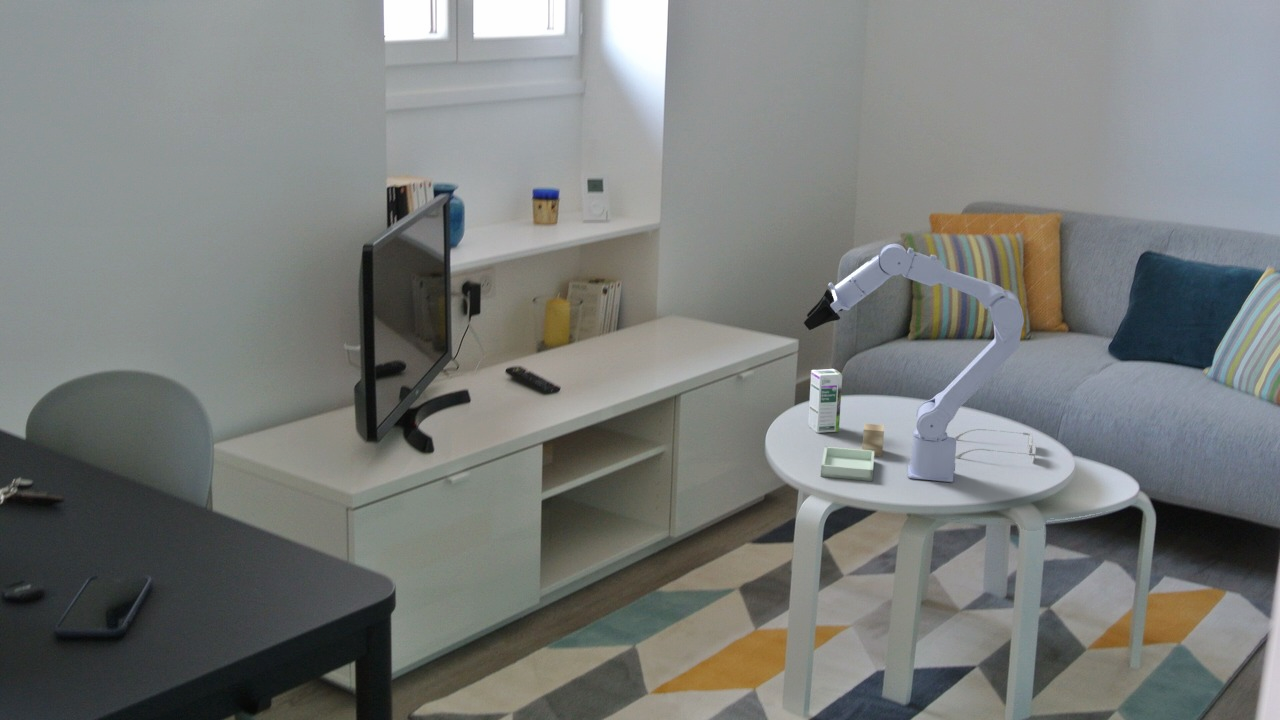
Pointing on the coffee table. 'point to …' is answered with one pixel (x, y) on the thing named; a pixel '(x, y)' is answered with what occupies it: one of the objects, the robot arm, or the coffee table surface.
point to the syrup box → (825, 400)
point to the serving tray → (847, 463)
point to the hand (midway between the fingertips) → (808, 322)
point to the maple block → (873, 438)
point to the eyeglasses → (1030, 445)
